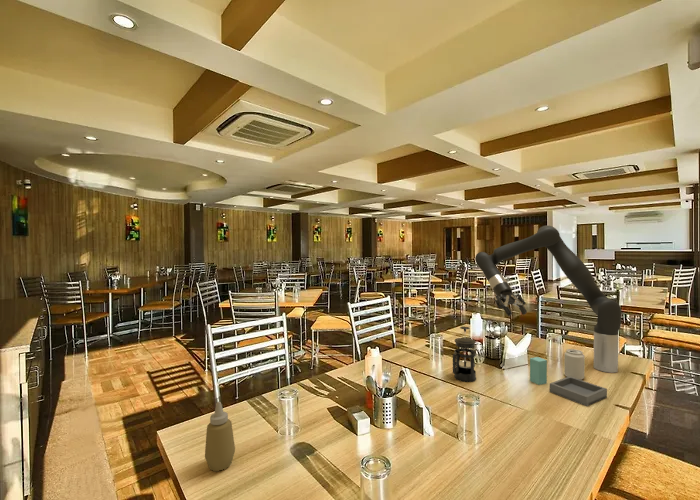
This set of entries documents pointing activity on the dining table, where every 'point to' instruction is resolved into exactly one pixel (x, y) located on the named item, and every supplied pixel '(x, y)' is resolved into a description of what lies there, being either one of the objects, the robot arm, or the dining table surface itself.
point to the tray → (578, 391)
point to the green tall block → (538, 370)
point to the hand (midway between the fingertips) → (517, 314)
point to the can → (574, 364)
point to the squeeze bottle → (219, 440)
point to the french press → (465, 368)
